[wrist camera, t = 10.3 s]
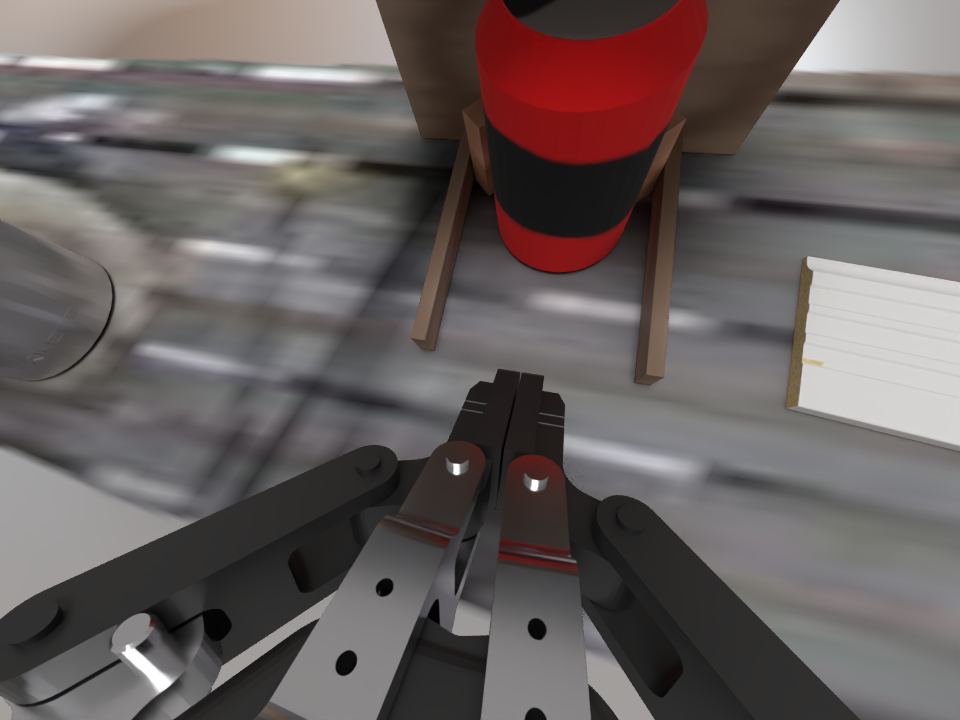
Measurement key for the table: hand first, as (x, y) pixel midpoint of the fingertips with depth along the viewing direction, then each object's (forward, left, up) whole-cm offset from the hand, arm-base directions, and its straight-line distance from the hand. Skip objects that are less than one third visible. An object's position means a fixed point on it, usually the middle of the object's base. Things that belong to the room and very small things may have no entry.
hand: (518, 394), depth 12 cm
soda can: (-4, +12, -8) cm, 15 cm away
